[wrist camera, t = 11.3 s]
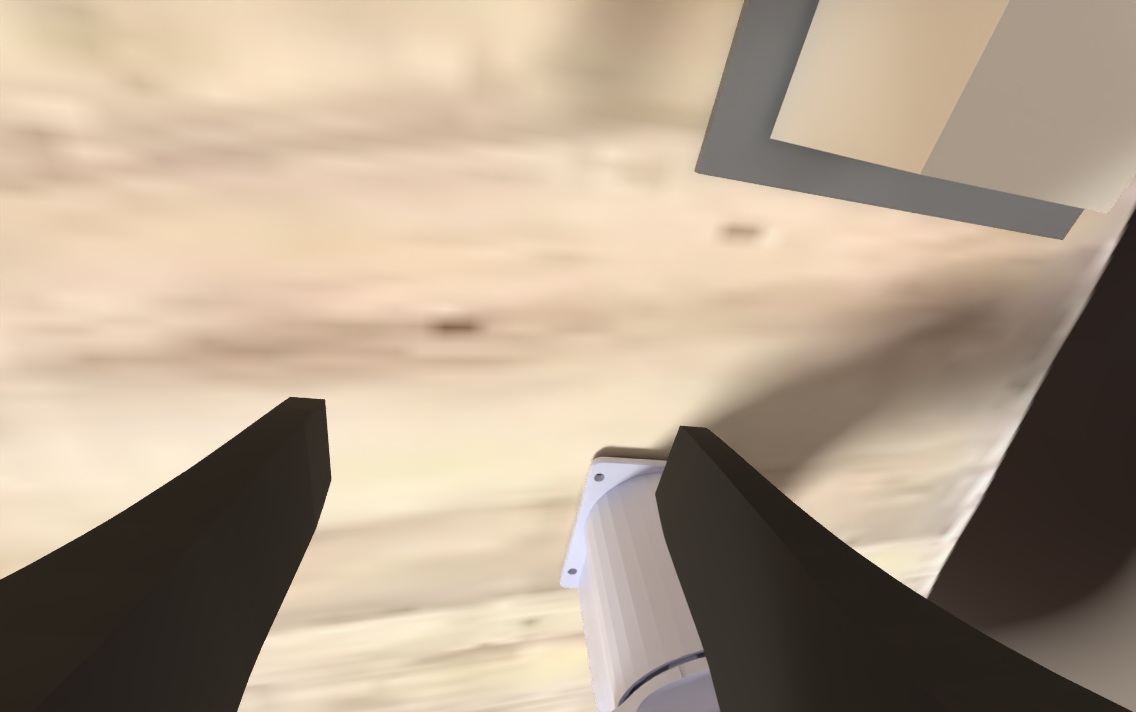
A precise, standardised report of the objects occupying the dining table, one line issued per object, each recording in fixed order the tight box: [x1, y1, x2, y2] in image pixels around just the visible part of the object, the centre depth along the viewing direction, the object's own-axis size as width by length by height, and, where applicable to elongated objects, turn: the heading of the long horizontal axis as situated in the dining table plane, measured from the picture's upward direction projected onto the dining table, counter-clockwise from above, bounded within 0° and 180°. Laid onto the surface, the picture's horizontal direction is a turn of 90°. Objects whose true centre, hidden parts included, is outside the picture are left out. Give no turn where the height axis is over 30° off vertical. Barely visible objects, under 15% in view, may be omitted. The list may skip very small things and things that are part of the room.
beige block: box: [770, 0, 1136, 214], centre depth 12 cm, size 5×5×7 cm
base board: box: [695, 0, 1084, 240], centre depth 16 cm, size 10×16×1 cm, turn 80°
